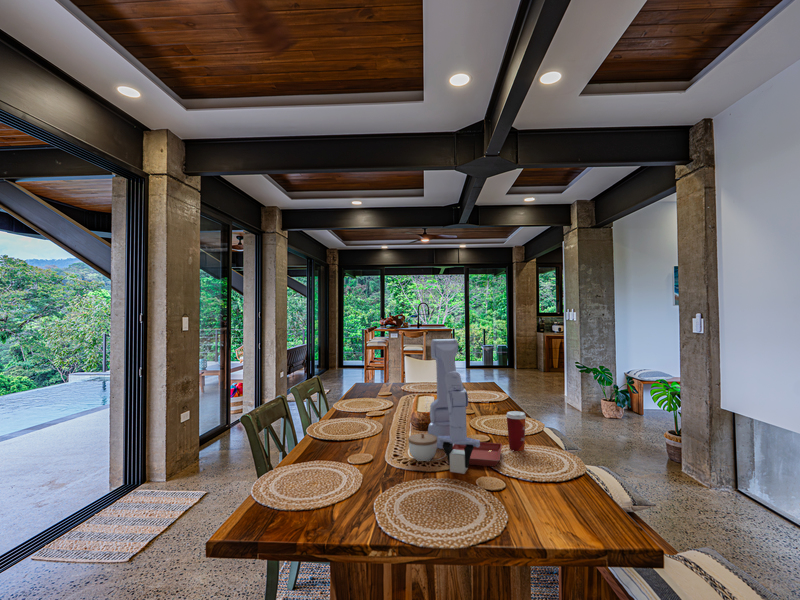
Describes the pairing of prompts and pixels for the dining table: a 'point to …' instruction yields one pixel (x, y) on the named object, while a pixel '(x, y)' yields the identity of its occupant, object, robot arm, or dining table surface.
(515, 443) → the paper cup
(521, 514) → the dining table surface
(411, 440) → the lidded jar
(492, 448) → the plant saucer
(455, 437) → the robot arm
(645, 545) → the dining table surface
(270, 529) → the dining table surface
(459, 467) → the block
